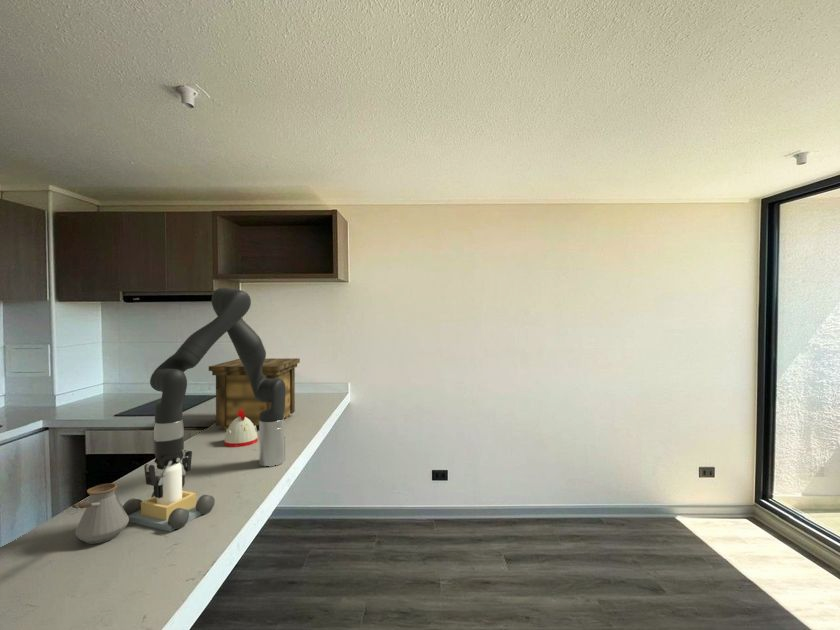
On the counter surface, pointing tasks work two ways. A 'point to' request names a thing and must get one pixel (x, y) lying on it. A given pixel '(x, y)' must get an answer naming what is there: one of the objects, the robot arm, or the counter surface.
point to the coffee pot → (101, 515)
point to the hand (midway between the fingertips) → (169, 492)
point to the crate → (250, 389)
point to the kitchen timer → (241, 432)
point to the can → (171, 484)
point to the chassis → (168, 511)
